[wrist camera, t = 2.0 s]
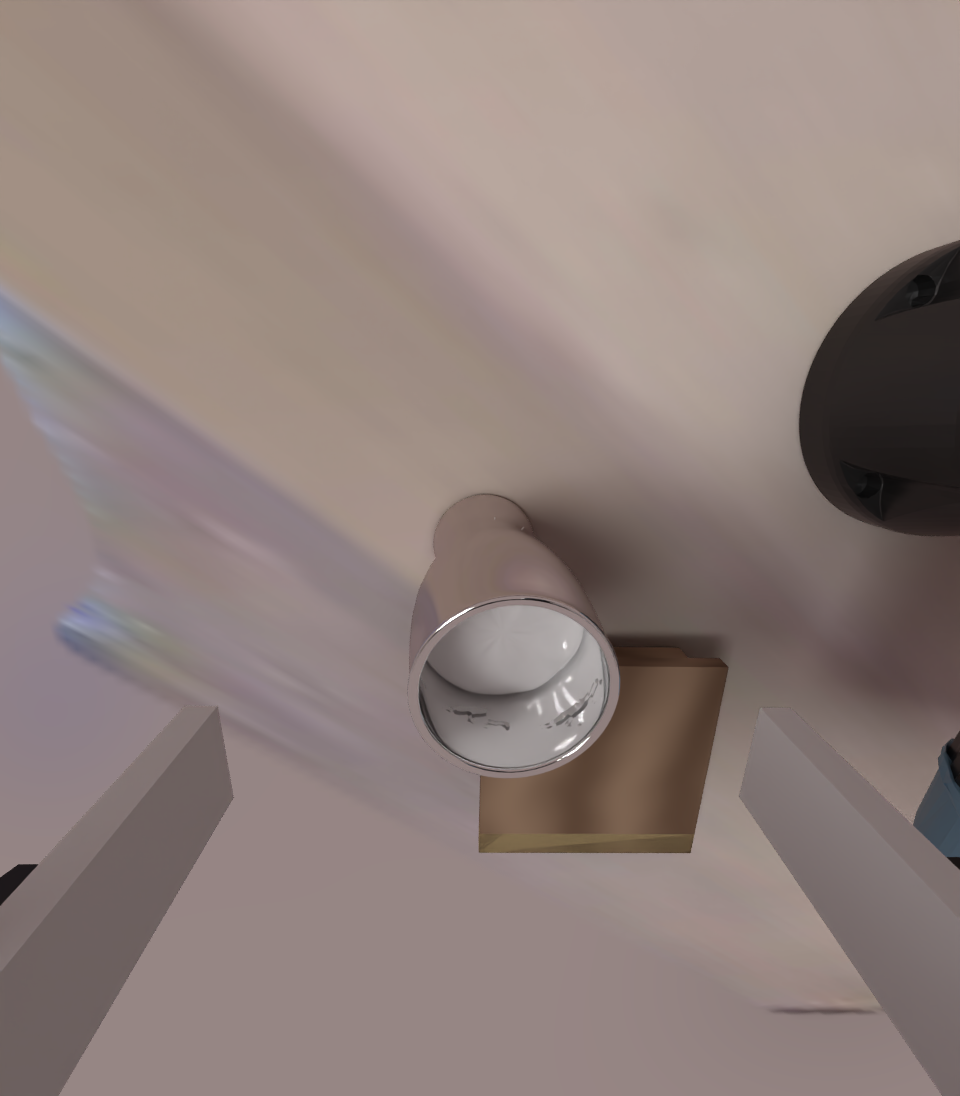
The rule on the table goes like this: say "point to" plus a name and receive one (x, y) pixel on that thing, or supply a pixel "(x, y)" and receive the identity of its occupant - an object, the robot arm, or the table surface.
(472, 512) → the beer glass
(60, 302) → the table surface
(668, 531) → the table surface
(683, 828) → the dock
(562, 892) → the table surface
